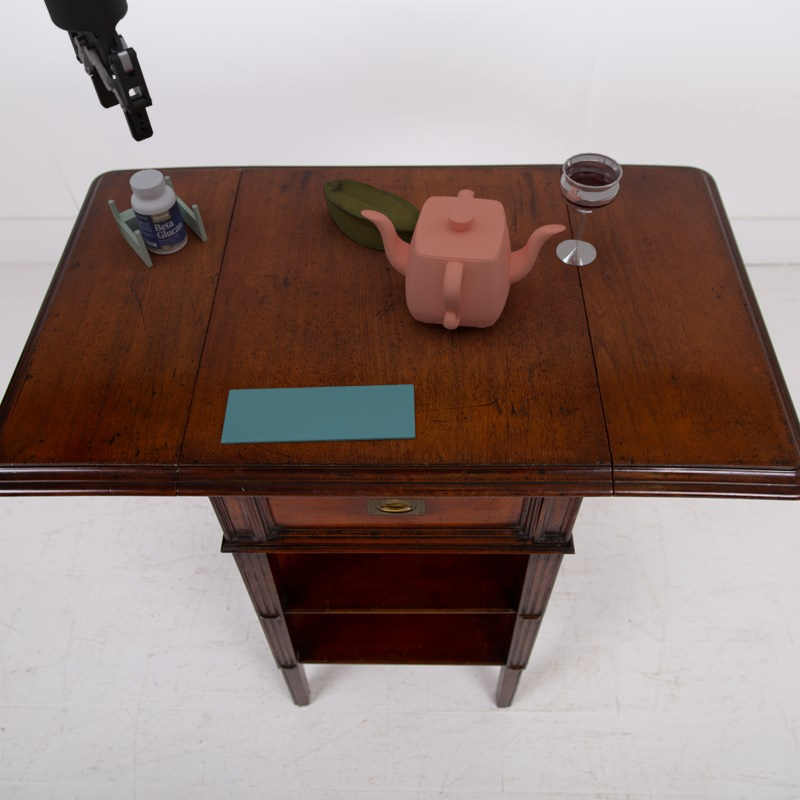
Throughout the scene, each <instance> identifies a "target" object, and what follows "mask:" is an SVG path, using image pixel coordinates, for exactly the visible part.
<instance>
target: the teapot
mask: <svg viewBox="0 0 800 800" xmlns="http://www.w3.org/2000/svg"><path fill="white" fill-rule="evenodd" d="M420 212H421V213H420V216H419V218H418V221H417V224H416V227H415V230H414V233H413V237H412V240H411V243H409V244H408V243H406V242H404V241H403V240H401V239H400V238H399V237H398V235H397V233H396V231H395V228H394V226H393V224H392V222H391V221H390V220H389V219H388V218H387V217H386V216H385V215H384V214H382V213H379V212H376V211H372V210H363V211H361V214H362V215H363V216H364V217H365V218H367V219H369V220H370V221H371V222H373V223H374V224H375V225H376V226H377V228H378V229H379V231H380V233H381V236H382V239H383V244H384V248H385V250H384V252H385V255H386V258H387V260H388V262H389V264H390V266H392V268H393V269H394V270H395V271H397V272H398V273H400V274H401V275H403V276H404V277H405V301H406V306H407V309H408V311H409V313H410V314H411V316H412V317H413V318H414V319H415V320H416V321H419V322H422V323H424V324H438V325H443V327H444V328H446V329H448V330H451V331H452V330H456V329H457V328H458V327H474V328H479V329H482V328H483V329H484V328H487V327H491V326H494V324H495V323H496V322H497V321H498V319H499V318H500V317H501V314H502V313H503V310H504V308H505V305H506V303H507V300H508V296H509V292H510V288H511V285H512V284H515V283H517V282H519V281H521V280H523V279H525V277H526V276H527V275H528V274H529V273H530V272H531V271H532V269H533V268H534V265H535V263H536V261H537V258H538V256H539V253H540V252H541V249H542V247H543V246H544V244H545V243H546V241H548V239H550V238H551V237H553V236H555V235H557V234H560V233H562V232H564V231H565V230H566V226H565V225H563V224H556V223H554V224H546V225H543V226H540V227H538V228H537V229H535V230H534V231H533V232H532V233H531V235H530V237H529V238H528V240H527V242H526V244H525V245H524V246H523V247H522V248H520V249H518V250H516V251H512V249H511V239H510V232H509V227H508V222H507V216H506V212H505V208H504V206H503V203H502V202H500V201H498V200H495V199H489V198H488V199H487V198H477V197H476V195H475V192H474V191H473V190H471V189H461V190H459V191H458V194H457V196H445V195H444V196H443V195H441V196H439V195H438V196H437V195H436V196H434V195H433V196H430V197H429V198H427V199H426V201H425V202H424V203H423V206H422V208H421V210H420Z"/></svg>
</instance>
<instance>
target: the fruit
mask: <svg viewBox="0 0 800 800" xmlns="http://www.w3.org/2000/svg"><path fill="white" fill-rule="evenodd" d="M322 191H323V195H324V200H325V203H326V207H327V209H328V212H329V214H330V216H331V218H332V219H333V221H334V222H335V224H336V226H337V227H338V228H339V229H340V231H341V232H342V233H343V234H344V235H345V236H347V237H348V238H349V239H351V240H352V241H354V242H355V243H356V244H358V245H361V246H363V247H366V248H370V249H372V250H378V251H385V248H384V244H383V239H382V236H381V233H380V231H379V229H378V228H377V226H376V225H375V224H374V223H373V222H371V221H370V220H369V219H367V218H365V217H364V216H363V215H362V214H361V211H363V210H372V211H376V212H379V213H382V214H384V215H385V216H386V217H387V218H388V219H389V220H390V221H391V222H392V224H393V226H394V228H395V231H396V233H397V235H398V237H399V238H400V239H401V240H403V241H404V242H406V243H408V244H411V240H412V237H413V233H414V230H415V227H416V224H417V221H418V218H419V216H420V213H421V210H420V209H418V207H416V206H415V205H414V204H413V203H411V202H410V201H408V200H407V199H405V198H404V197H401V196H399V195H398V194H396V193H393V192H390V191H387V190H384V189H381V188H378V187H375V186H373V185H370V184H367V183H364V182H360V181H355V180H352V179H348V178H342V179H341V178H340V179H335V180H332V181H326V182H325V183H324V185H323V187H322Z"/></svg>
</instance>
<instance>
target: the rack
mask: <svg viewBox="0 0 800 800" xmlns="http://www.w3.org/2000/svg"><path fill="white" fill-rule="evenodd" d="M163 177H164V180H165V184H166V185H167V186H169V187H170V188H171V189H172V190H173V191H174V192H175V189H174V186H173V183H172V179H171V176H169V175H165V176H163ZM175 196H176V199H177V202H178V206H179V209H180V212H181V215H182V218H183V222H184V223H186V225H187V226H188V227H189V228H190V230H192V231H193V232H194V233H195V234H196V236H198V238H200V239H201V241H202V242H207V241H208V236H207V233H206V230H205V227H204V226H205V225H204V222H203V220H202V216H201V212H200V210H199V206H198V205H197V204H192V206H191V208H192V209H191V208H189V206H188V205H187V204H186V203H185V202H184V200H182V199H181V198H180V197H179V196H178V195H177V194H176V193H175ZM107 203H108V205H109V208H110V211H111V212H112V215H113V219H114V221H115V224H116V225H117V228H118V231H119V233H120V235H121V236H122V237H123V238H124V240H125V241H126V243H128V244H129V246H130V247H131V248H132V249H133V251H134V252H135V253H136V255H138V257H139V259H141V261H143V263H144V264H145V265H146V266H147V267H148V268H152V267H153V265H154V264H153V262H152V259H151V257H150V254H149V251H148V248H147V245H146V243H145V241H144V238H143V235H142V232H141V230H140V227H139V224H138V222H137V219H136V216H135V213H134V211H133V208H132V207H131V208H129V209H126V210H124V211H121V212H119V210H118V208H117V205H116V203H115V200H114V199H109V200H108V201H107Z"/></svg>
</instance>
